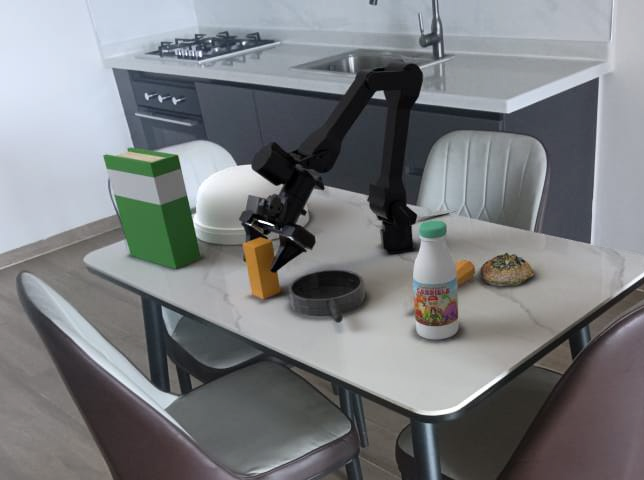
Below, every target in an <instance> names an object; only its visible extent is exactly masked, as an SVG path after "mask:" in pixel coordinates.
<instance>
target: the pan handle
mask: <svg viewBox="0 0 644 480" xmlns="http://www.w3.org/2000/svg"><path fill="white" fill-rule="evenodd" d="M328 305H329V308H330V310H331V313H332V315H331V316H332V317H333V321H334V322H335V323H337V324H339V323H341V322H343V319H344V317H343V314H342V313H341V312H340V310H339V307H338V305H337V302H336V300H334V299H331V300H329V302H328Z"/></svg>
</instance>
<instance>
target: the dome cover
mask: <svg viewBox="0 0 644 480" xmlns="http://www.w3.org/2000/svg"><path fill="white" fill-rule="evenodd" d="M283 185H284V184H281V185H279V186H275V185H273V184H272V183H270V182H269V181H268V180H266V179H265V178H263V177H262V176H260V175H259V174H258V173H256V172H255V171H253V170H252V168H251V164H242V165H241V164H239V165H236V166H230V167H227V168H224V169H221V170H219V171H218V170H217V171H216V172H214V173H212V174H210V175H209V176H208V177H206V179H204V180H203V181H202V183H201V184H200V186H199V188H198V189H197V190H198V191H197V194H196V198H195V199H196V200H195V211H196V212H195V214H194V216H193V217H192V219H193V223H194V228H195V232H196V236H197V239H199V240H201V241H203V242H205V243H210V244H216V245H228V246H230V245H231V246H232V245H243V243H245V242H246V232H245V229H244V227H243V226H242V225H241V221H240V220H239V218H240V216H241V214H242V212H243V211H245V210H246V205H247V200H248V195H252V196H256V197H261V198H266V199H267V198H268V196H269V195H271V196H272V195H273V194H277V195H278V194H279V192H280V191H281V189H282V187H283ZM304 210H306V211H307V213H306V215H305V216H303V215H300V217H299V219H298V221H297V223H296V224H297V225H301V226H302V227H303V228H304V227H306V225H307V224H308V223H309V220H310V214H309V213H310V212H309V208H308V205H307V204H306V205H305V207H304ZM242 223H243V222H242ZM273 228H274V227H273ZM280 230H282V229H280ZM263 235H264V234H263ZM265 236H266V237H268V239H267V240H270V241H273V240H276V239H279V234H277V233H274V232H271V233H270V234H268V235H265Z"/></svg>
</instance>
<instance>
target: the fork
mask: <svg viewBox="0 0 644 480" xmlns="http://www.w3.org/2000/svg"><path fill="white" fill-rule="evenodd" d="M457 211H458V209H455V208H452V209H447V210H443V211H439V212H435V213H430V214H425V215H420V216H417V219H423V218H424V219H425V218H430V217H437V216H442V215H447V214H452V213H456V212H457ZM373 226H374V227H375V228H377V229H382V224H373Z"/></svg>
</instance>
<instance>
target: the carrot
mask: <svg viewBox="0 0 644 480" xmlns="http://www.w3.org/2000/svg"><path fill="white" fill-rule="evenodd" d="M455 266H456V271H457V288H459V287H461V286H462V285H464V284H466V283H467V282H468V281H470V280H471V279H472V278H473V277H474V275H475V274H476V268H475V265H474V264H473V262H472V261H471V260H469V259H462V260H461V259H460V260H459V261H458V262H457V263H455Z"/></svg>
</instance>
